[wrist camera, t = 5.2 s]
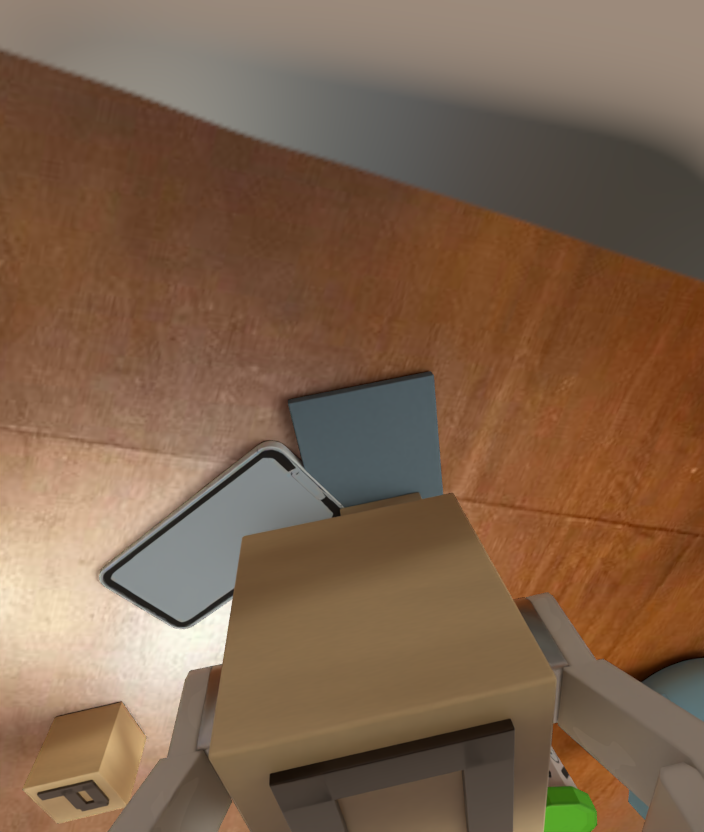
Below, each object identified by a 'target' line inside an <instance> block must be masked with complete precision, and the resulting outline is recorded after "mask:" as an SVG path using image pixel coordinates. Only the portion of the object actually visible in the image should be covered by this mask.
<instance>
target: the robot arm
mask: <svg viewBox="0 0 704 832" xmlns="http://www.w3.org/2000/svg"><path fill="white" fill-rule="evenodd" d="M513 601H514V602H515V604H516V606H517V608H518V609H519V611H520V613H521V615H522V617H523V618H524V620H525V622H526V624H527V626H528V627H529V629H530V631H531V633H532V634H533V636H534V638H535V640H536V642H537V643H538V645H539V647H540V649H541V650H542V652H543V654H544V656H545V658H546V659H547V661H548V663H549V665H550V667H551V668H552V670H553V672H554V674H555V675H556V678H557V684H556V696H555V708H554V719H553V723H558V726H559V727H561V728H562V729H563V730H564V731H565V732H566V733H567V734H568V735H569V736H571V737H572V738H573V739H574V740H575V741H576V742H577V743H578V744H579V745H581V746H582V747H583V748H584V749H585V750H586V751H587V752H588V753H589V754H591V755H592V756H593V757H594V758H595V759H596V760H597V761H598V762H599V763H601V764H602V765H603V766H604V767H605V768H606V769H607V770H608V771H609V772H610V773H612V774H613V775H614V776H615V777H616V778H617V779H618V780H619V781H620V782H622V783H623V784H624V785H625V786H626V787H627V788H628V789H629V790H630V791H632V792H633V793H634V794H635V795H636V796H637V797H638V798H639V799H640V800H642V801H643V802H644V803H645V804H646V805H647V806H648V807H649V809H648V812H647V815H646V819H645V822H644V825H643V829H642V832H704V722H703V721H702V720H700V719H699V718H697V717H695V716H694V715H692V714H691V713H689V712H687V711H686V710H684V709H683V708H681V707H679V706H678V705H676V704H675V703H673V702H671V701H670V700H668V699H667V698H665V697H663V696H662V695H660V694H659V693H657V692H655V691H654V690H652V689H651V688H649V687H647V686H646V685H644V684H643V683H641V682H639V681H638V680H636V679H635V678H633V677H632V676H630V675H628V674H627V673H625V672H624V671H622V670H620V669H619V668H617V667H616V666H614V665H612V664H611V663H609V662H608V661H606V660H604V659H599V660H596V659H595V657H594V656H593V654H592V653H591V651H590V650H589V649H588V647H587V646H586V644H585V643H584V641H583V640H582V638H581V637H580V635H579V634H578V632H577V631H576V629H575V628H574V626H573V625H572V623H571V622H570V621H569V619H568V618H567V616H566V615H565V613H564V612H563V610H562V609H561V607H560V606H559V604H558V603H557V601H556V600H555V598H554V597H553V596H552V595H551V594H549V593H542V594H538V595H534V596H530V597H526V598H525V597H522V598H518V599H513ZM221 671H222V664H220V665H215V666H210V667H205V668H200V669H196V670H191V671H189V673H188V675H187V677H186V679H185V682H184V687H183V691H182V695H181V700H180V704H179V708H178V713H177V717H176V721H175V726H174V730H173V734H172V738H171V743H170V747H169V751H168V756H167V758H163V759H160V760H159V761H158V763H157V764H156V765H155V767H154V768H153V769H152V771H151V772H150V774H149V775H148V776H147V778H146V779H145V781H144V782H143V783H142V785H141V786H140V787H139V789H138V790H137V792H136V793H135V794H134V796H133V797H132V799H131V800H130V801H129V803H128V804H127V805H126V807H125V808H124V810H123V811H122V812H121V814H120V815H119V817H118V818H117V819H116V821H115V822H114V824H113V825H112V826H111V828H110V829H109V830H108V832H218V830H219V828H220V825H221V823H222V821H223V819H224V817H225V815H226V813H227V811H228V809H229V807H230V805H231V803H232V800H231V797H230V795H229V793H228V792H227V790H226V788H225V786H224V785H223V783H222V781H221V779H220V778H219V776H218V774H217V772H216V771H215V769H214V767H213V765H212V764H211V762H210V760H209V757H208V755H209V748H210V742H211V735H212V729H213V722H214V716H215V710H216V703H217V697H218V690H219V684H220V677H221Z"/></svg>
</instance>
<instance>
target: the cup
mask: <svg viewBox="0 0 704 832" xmlns="http://www.w3.org/2000/svg"><path fill="white" fill-rule="evenodd" d="M596 826H597V811H596V809H595V807H594V805H593V803H592V801H591V799H590V797H589V795H588V794H587V793H585V792H583V791H581V790H579V789H577V787H576V785H575V784H574V782H573V780H572V779H571V777H570V776H569V774H568V772H567V771H566V769H565V768H564V766H563V764H562V763H561V761H560V759H559V758H558V756H557V755H556V753H555V751H554V750H553V748H552V747H551V754H550V766H549V777H548V789H547V800H546V812H545V824H544V832H591V831H592V830H593V829H594V828H595V827H596Z"/></svg>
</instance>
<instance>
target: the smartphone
mask: <svg viewBox="0 0 704 832" xmlns="http://www.w3.org/2000/svg"><path fill="white" fill-rule="evenodd" d="M343 508H344V507H343V505H342V504H341V503H339V502H338V501H337V500H336V499H335V498H334V497H333V496H332V495H331V494H330V493H329V492H328V491H327V490H326V489H325V488H324V487H322V486H321V485H320V484H319V483H318V482H317V481H316V480H315V479H314V478H313V477H312V476H311V475H310V474H309V473H308V472H307V471H306V470H305V469H304V466H303V462H302V461H300V460H299V459H298V458H297V457H296V456H295V455H294V454H293V453H292V452H291V451H290V450H289V449H288V448H287V447H286V446H285V445H283V444H282V443H280V442H277V441H266V442H263V443H261V444H259V445H258V446H256V447H255V448H254V449H253V450H251V451H250V452H249V453H247V454H246V455H245V456H244V457H242V458H241V459H240V460H238V461H237V462H236V463H235V464H233V465H232V466H231V467H229V468H228V469H227V470H226V471H224V472H223V473H222V474H221V475H219V476H218V477H217V478H216V479H214V480H213V481H212V482H210V483H209V484H208V485H207V486H205V487H204V488H203V489H202V490H200V491H199V492H198V493H196V494H195V495H194V496H193V497H192V498H190V499H189V500H188V501H186V502H185V503H184V504H183V505H181V506H180V507H179V508H178V509H176V510H175V511H174V512H173V513H171V514H170V515H169V516H168V517H166V518H165V519H164V520H162V521H161V522H160V523H159V524H157V525H156V526H155V527H154V528H152V529H151V530H150V531H149V532H147V533H146V534H145V535H144V536H142V537H141V538H140V539H138V540H137V541H136V542H135V543H133V544H132V545H131V546H130V547H128V548H127V549H126V550H125V551H123V552H122V553H121V554H120V555H118V556H117V557H116V558H115V559H113V560H112V561H111V562H109V563H108V564H107V565H106V566H105V567H103V569H102V570H101V572H100V575H99V580H100V582H101V584H102V585H103V586H104V587H106V588H107V589H109V590H111V591H112V592H114V593H116V594H117V595H119V596H121V597H123V598H124V599H126V600H128V601H129V602H131V603H133V604H134V605H136V606H138V607H139V608H141V609H143V610H144V611H146V612H148V613H149V614H151V615H153V616H154V617H156V618H158V619H159V620H161V621H163V622H164V623H166V624H168V625H169V626H171V627H173V628H176V629H187V628H190V627H192V626H194V625H195V624H197V623H198V622H200V621H201V620H203V619H204V618H206V617H207V616H208V615H210V614H211V613H213V612H214V611H216V610H217V609H219V608H220V607H221V606H223V605H224V604H226V603H227V602H229V601H230V600H232V599H233V594H234V587H235V581H236V574H237V568H238V561H239V555H240V549H241V542H242V537H244V536H247V535H252V534H256V533H261V532H266V531H271V530H276V529H280V528H285V527H290V526H295V525H300V524H305V523H309V522H314V521H319V520H324V519H329V518H333V517H338V516H341V514H340V509H343Z"/></svg>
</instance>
